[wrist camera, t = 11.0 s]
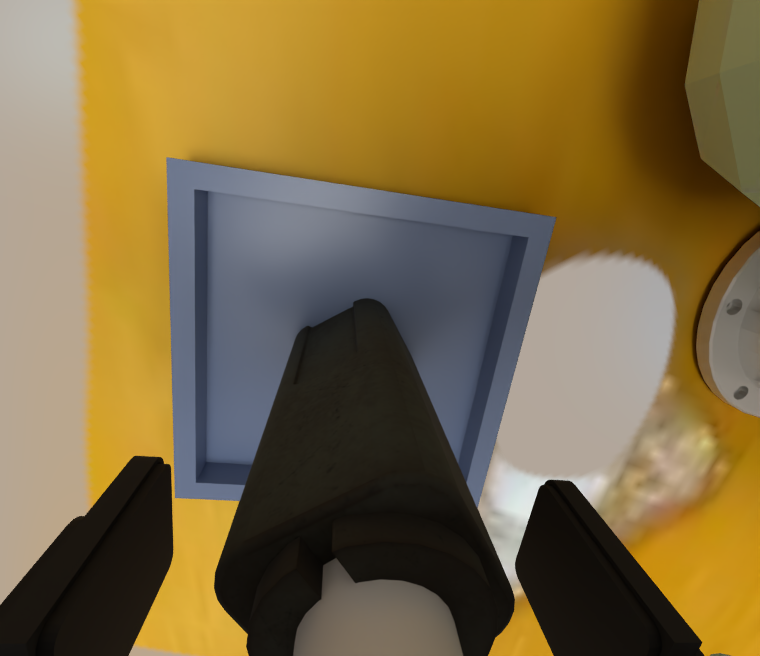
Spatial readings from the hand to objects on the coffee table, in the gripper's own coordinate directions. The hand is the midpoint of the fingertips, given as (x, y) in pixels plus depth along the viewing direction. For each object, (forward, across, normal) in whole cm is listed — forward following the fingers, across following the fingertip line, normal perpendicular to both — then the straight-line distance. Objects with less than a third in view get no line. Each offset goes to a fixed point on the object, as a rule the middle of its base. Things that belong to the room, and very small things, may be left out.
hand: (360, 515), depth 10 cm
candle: (+11, 0, 0) cm, 11 cm away
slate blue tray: (+11, 0, 0) cm, 11 cm away
